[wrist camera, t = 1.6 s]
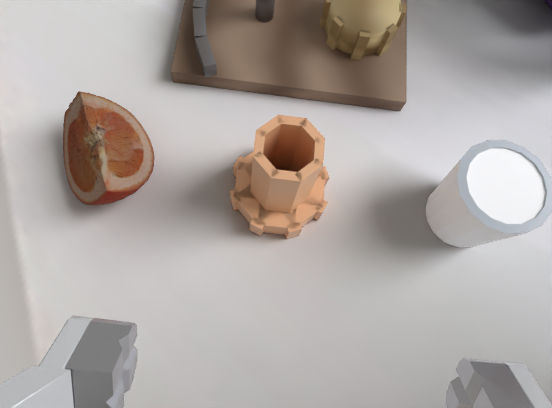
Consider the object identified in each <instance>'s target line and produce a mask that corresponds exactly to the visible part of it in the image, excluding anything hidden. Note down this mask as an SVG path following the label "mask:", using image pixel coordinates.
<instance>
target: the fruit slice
mask: <svg viewBox="0 0 552 408" xmlns="http://www.w3.org/2000/svg"><path fill="white" fill-rule="evenodd" d="M63 126H64V131H63V150H64V164H65V170H66V174H67V179H68V182H69V185H70V187H71V190H72V191H73V193H74V194H75V196H76V197H77V198H78V199H79V200H80V201H81V202H83V203H85V204H88V205H100V204H108V203H113V202H115V201H118V200H121V199H123V198H125V197H127V196H129V195H131V194H133V193H135V192H136V191H137V190H138V189H139V188H140V187H141V186H142V185H143V184H144V183H145V182H146V181H147V180H148V179H149V177H150V175H151V173H152V171H153V167H154V152H153V147H152V145H151V142H150V139H149V137H148V135H147V134H146V132H145V130H144V129H143V127H142V125H141V124H140V123H139V121H138V120H137V119H136V118H135V117H134V116H133V115H132V114H131V113H130V112H129V111H128V110H127V109H125V108H123V107H122V106H120V105H118V104H116V103H114V102H112V101H110V100H108V99H105V98H103V97H100V96H96V95H94V94H90V93H84V92H78V93H77V95H76V97H75V98H74V99H73V103H72V102H71V103H70V105H69V109H67V110H66V112H65V116H64V124H63Z"/></svg>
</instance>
